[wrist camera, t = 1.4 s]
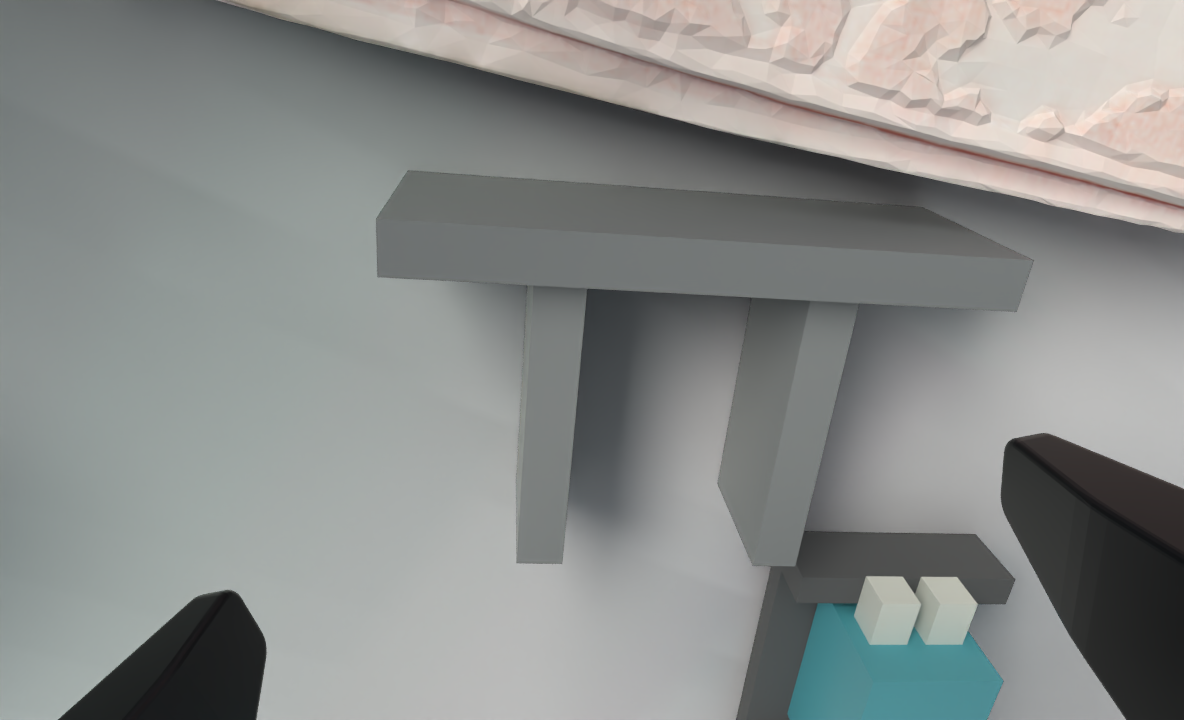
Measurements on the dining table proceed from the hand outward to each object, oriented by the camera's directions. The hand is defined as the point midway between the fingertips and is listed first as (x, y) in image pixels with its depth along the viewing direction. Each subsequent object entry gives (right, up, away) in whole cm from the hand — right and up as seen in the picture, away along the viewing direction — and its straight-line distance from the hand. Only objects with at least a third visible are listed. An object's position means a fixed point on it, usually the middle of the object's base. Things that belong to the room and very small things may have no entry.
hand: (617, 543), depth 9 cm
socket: (+2, +2, +14) cm, 14 cm away
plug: (+9, -8, +18) cm, 22 cm away
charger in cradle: (+9, -8, +19) cm, 22 cm away
